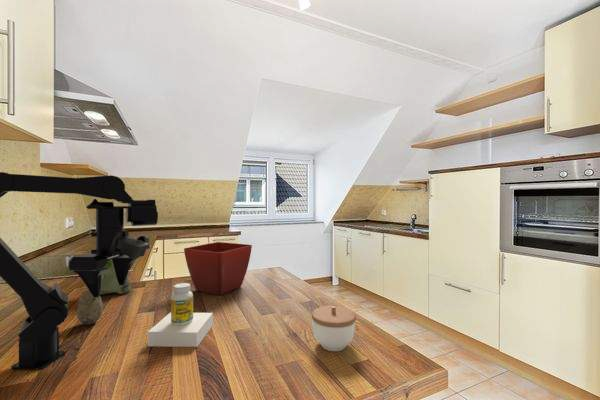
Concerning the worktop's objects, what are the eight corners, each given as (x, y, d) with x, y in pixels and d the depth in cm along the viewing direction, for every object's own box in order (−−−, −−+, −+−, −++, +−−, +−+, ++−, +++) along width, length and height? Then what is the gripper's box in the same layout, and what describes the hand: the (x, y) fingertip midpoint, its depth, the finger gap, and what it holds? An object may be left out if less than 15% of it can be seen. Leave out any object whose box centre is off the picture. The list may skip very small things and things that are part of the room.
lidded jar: (320, 359, 65) (320, 317, 65) (306, 337, 75) (306, 301, 75) (363, 353, 68) (363, 313, 68) (344, 332, 78) (344, 297, 78)
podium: (197, 346, 70) (197, 332, 70) (147, 346, 70) (147, 331, 70) (212, 325, 82) (212, 312, 82) (170, 324, 82) (170, 312, 82)
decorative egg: (72, 329, 79) (72, 292, 79) (82, 320, 84) (82, 286, 84) (97, 327, 80) (98, 290, 80) (105, 318, 86) (106, 284, 86)
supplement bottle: (190, 315, 80) (190, 281, 80) (195, 322, 75) (195, 286, 75) (169, 320, 77) (169, 284, 77) (173, 328, 72) (173, 289, 72)
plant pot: (182, 291, 111) (182, 247, 111) (217, 279, 128) (218, 241, 128) (219, 300, 102) (220, 252, 102) (252, 286, 119) (253, 245, 119)
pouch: (116, 298, 103) (116, 228, 103) (87, 296, 105) (87, 227, 105) (138, 288, 114) (138, 225, 114) (111, 287, 116) (112, 224, 116)
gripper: (118, 231, 62) (118, 305, 62) (161, 224, 80) (161, 280, 80) (66, 231, 62) (66, 304, 62) (121, 223, 80) (121, 279, 80)
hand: (109, 290), depth 71 cm, fingers open, 9 cm apart
